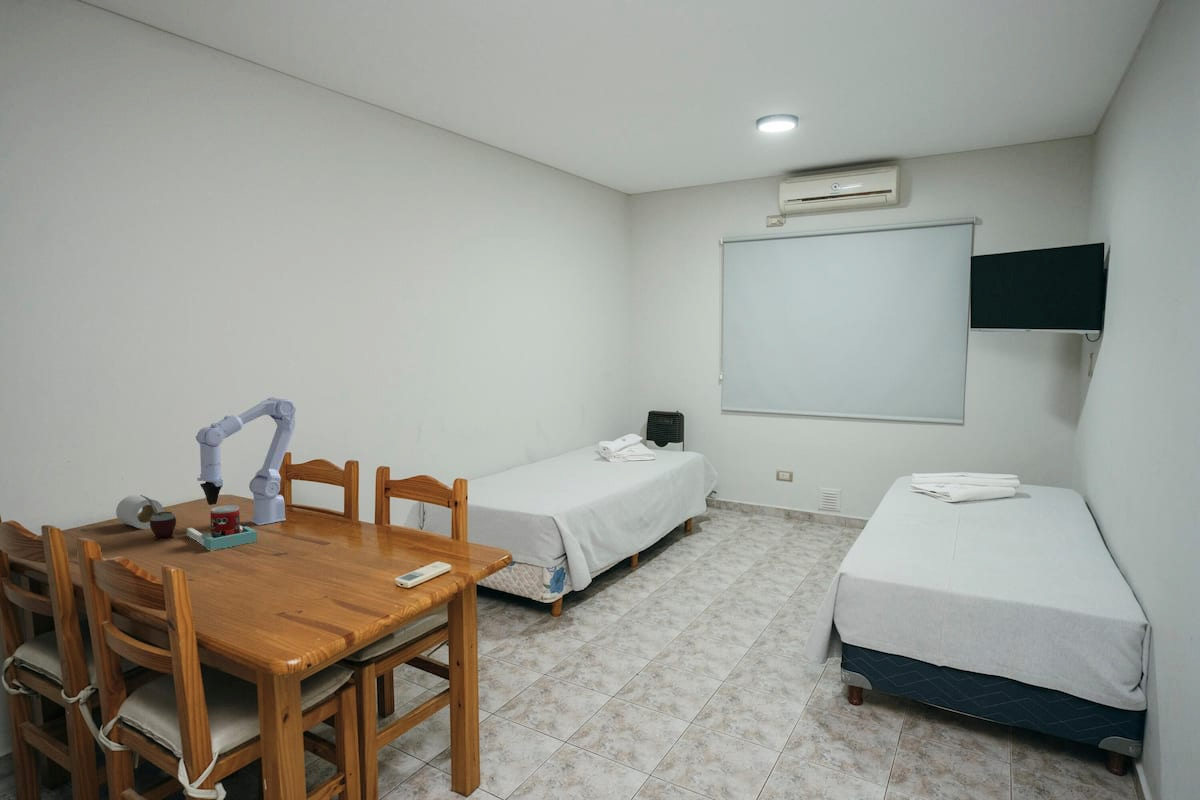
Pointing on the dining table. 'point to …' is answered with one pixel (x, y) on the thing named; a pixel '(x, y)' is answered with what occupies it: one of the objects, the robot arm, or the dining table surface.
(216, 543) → the teal white rectangular tray
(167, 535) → the mate gourd
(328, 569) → the dining table surface
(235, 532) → the canned food
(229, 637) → the dining table surface
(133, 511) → the toilet paper
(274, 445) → the robot arm
